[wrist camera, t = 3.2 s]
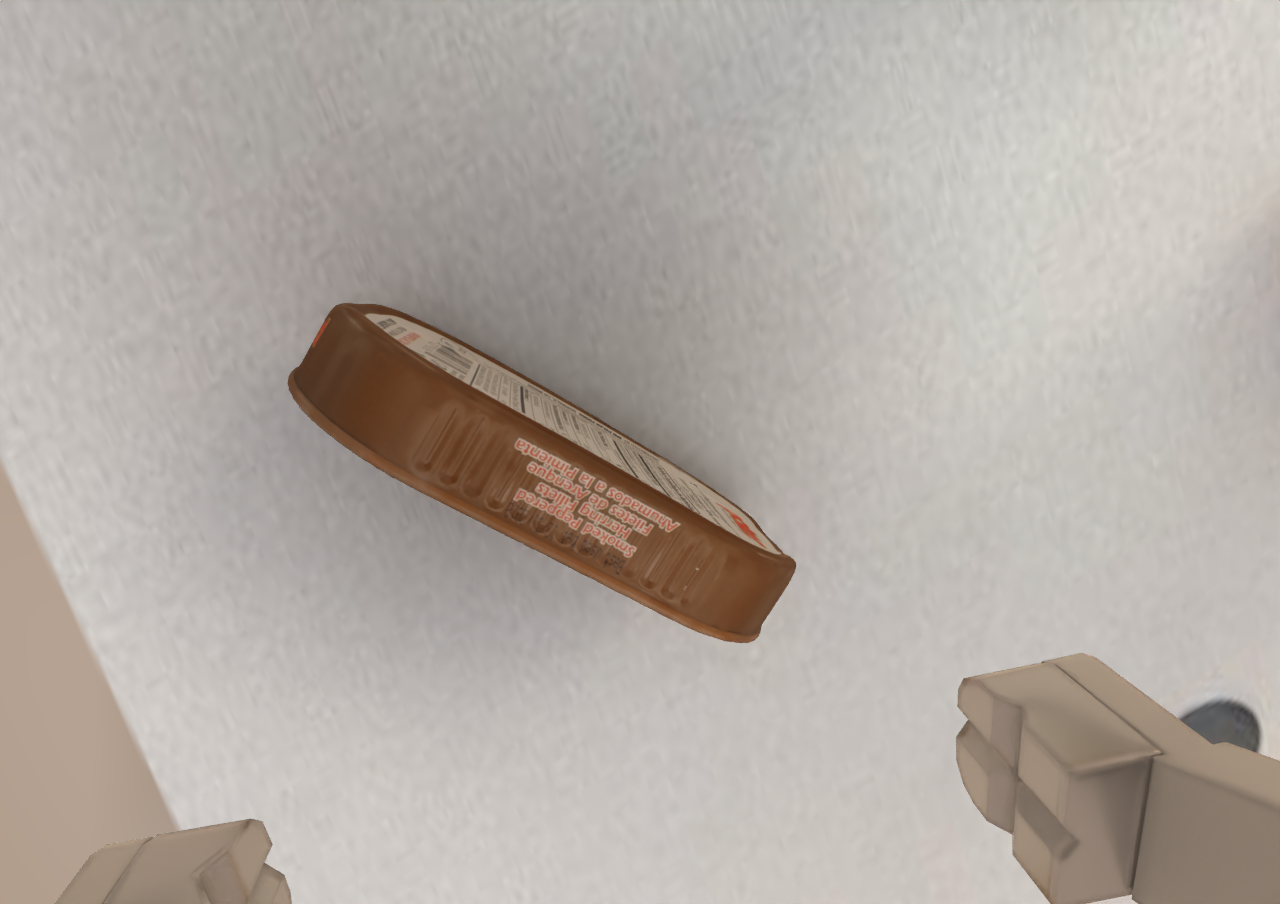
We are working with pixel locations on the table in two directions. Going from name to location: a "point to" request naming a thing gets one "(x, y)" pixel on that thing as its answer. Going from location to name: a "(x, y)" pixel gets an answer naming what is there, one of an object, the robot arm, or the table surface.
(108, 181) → the table surface
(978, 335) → the table surface
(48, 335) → the table surface
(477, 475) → the tin
